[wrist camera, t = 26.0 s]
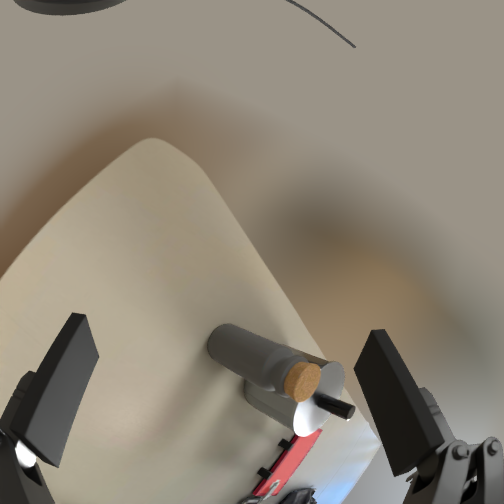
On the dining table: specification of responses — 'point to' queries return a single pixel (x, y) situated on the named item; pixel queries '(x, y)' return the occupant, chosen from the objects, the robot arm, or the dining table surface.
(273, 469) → the red board with handle
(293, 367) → the bottle
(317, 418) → the pot lid
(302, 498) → the dark slate chunk
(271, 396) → the pot
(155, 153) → the dining table surface
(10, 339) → the dining table surface
